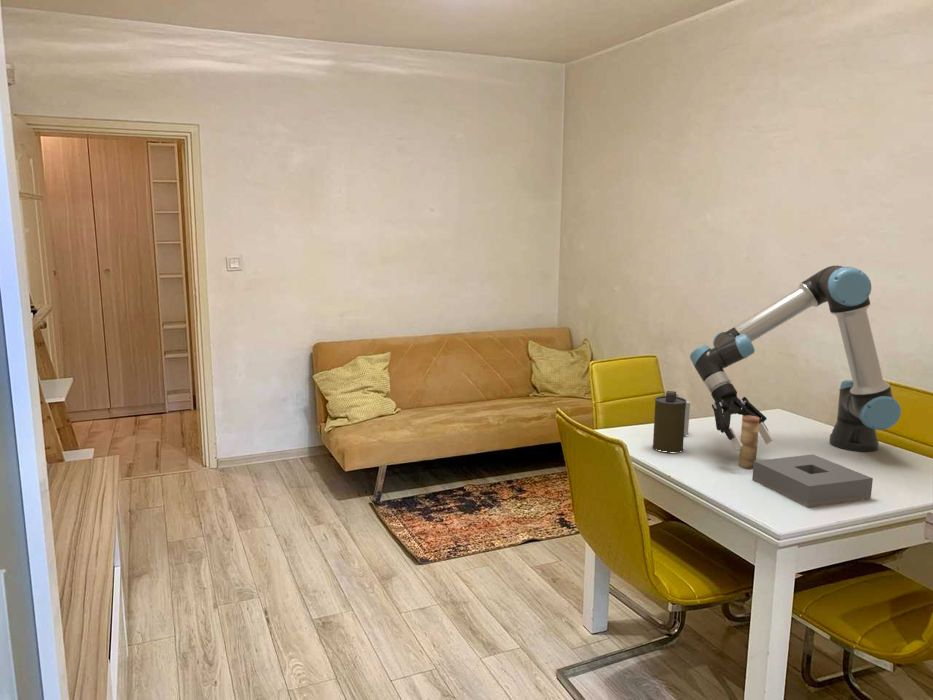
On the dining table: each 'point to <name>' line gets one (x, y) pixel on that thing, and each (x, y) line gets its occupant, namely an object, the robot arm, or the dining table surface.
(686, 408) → the supplement box
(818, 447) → the dining table surface
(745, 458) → the oak peg
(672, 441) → the canister
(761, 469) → the socket block
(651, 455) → the dining table surface
